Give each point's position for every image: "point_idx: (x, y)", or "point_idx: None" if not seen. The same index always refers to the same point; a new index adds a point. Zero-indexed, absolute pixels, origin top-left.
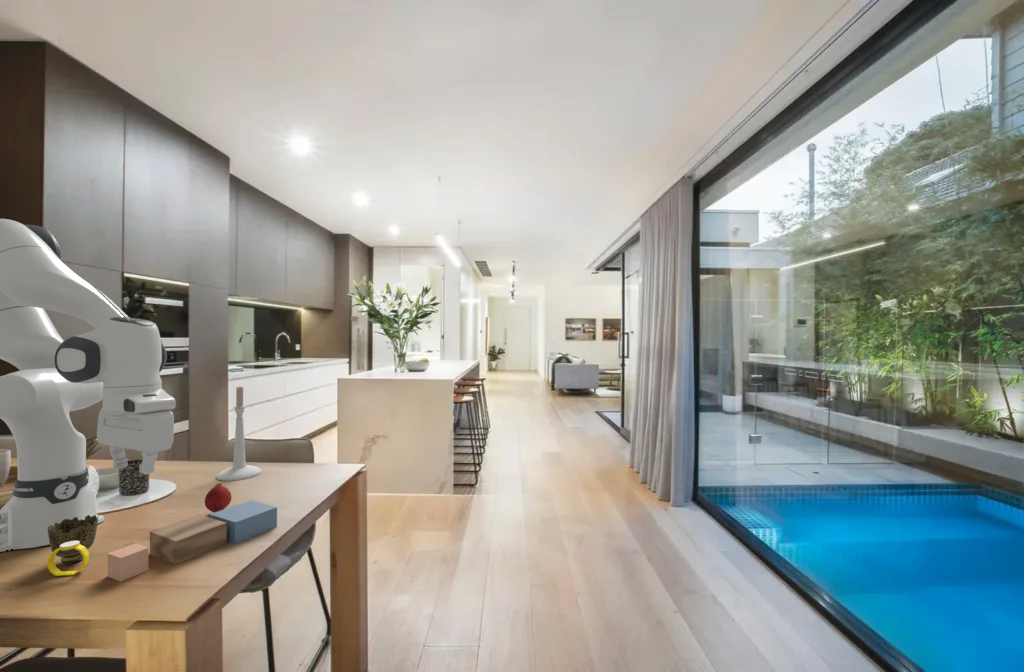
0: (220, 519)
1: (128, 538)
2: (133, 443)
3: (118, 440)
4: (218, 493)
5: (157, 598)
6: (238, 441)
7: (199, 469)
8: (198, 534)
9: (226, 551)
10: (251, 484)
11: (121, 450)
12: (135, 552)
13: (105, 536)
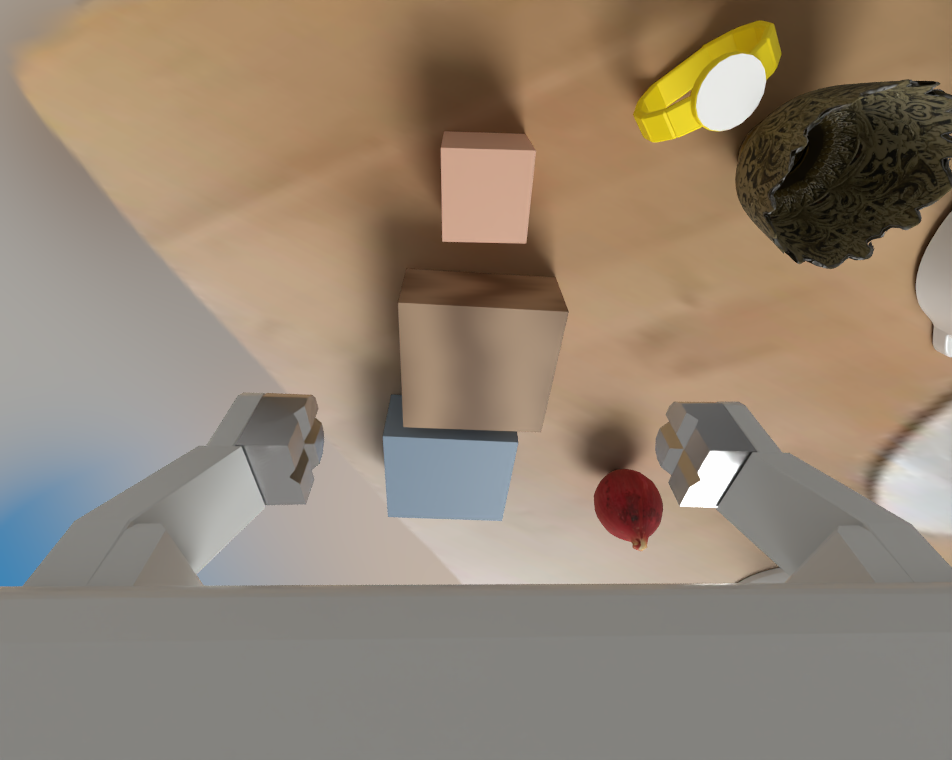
0: (460, 435)
1: (728, 309)
2: (123, 711)
3: (676, 712)
4: (616, 516)
5: (210, 116)
6: None
7: None
8: (401, 358)
9: (363, 362)
10: (690, 572)
11: (801, 560)
12: (442, 199)
13: (822, 291)
